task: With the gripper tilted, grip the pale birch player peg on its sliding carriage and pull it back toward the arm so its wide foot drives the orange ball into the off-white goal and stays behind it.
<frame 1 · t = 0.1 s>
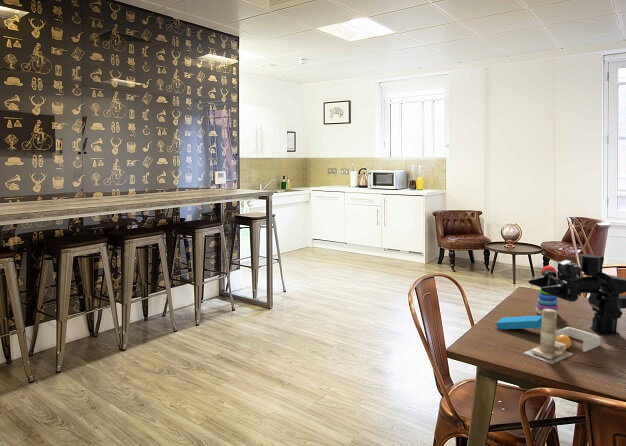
hand: (534, 285, 165), 17 cm above the table, tool horizontal, fingers open, 9 cm apart
grey rectangular plate: (546, 354, 148), on the table
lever: (526, 333, 168), on the table
ball: (563, 341, 153), point 2 cm above the table
kicker: (550, 331, 148), point 7 cm above the table, slide at 0.0 cm
goal: (575, 343, 157), on the table
stacking toy: (546, 313, 186), on the table
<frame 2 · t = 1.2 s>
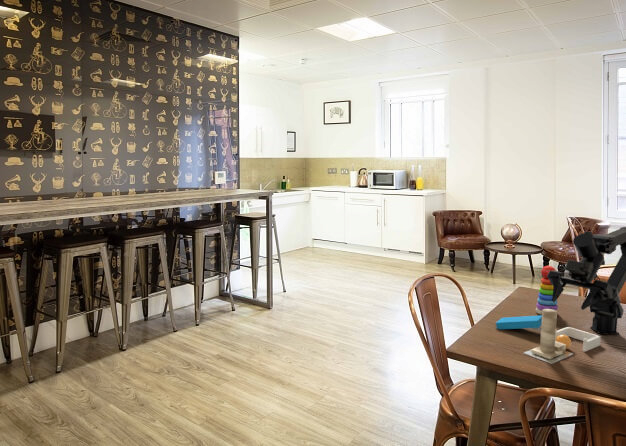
hand: (567, 305, 151), 14 cm above the table, tool tilted 45°, fingers open, 9 cm apart
nothing on the table moved.
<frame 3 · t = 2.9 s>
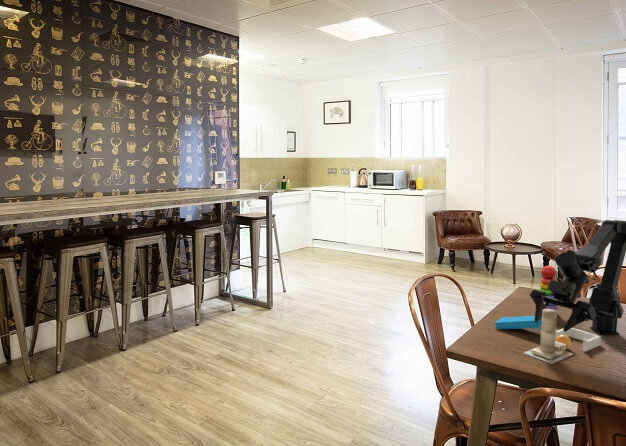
hand: (549, 326, 147), 9 cm above the table, tool tilted 45°, fingers open, 9 cm apart
nothing on the table moved.
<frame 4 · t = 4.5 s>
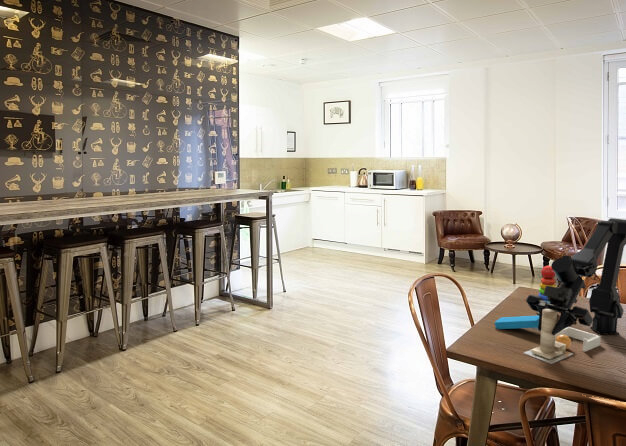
hand: (545, 332, 146), 8 cm above the table, tool tilted 45°, fingers closed on kicker, 4 cm apart
kicker: (550, 331, 148), point 7 cm above the table, slide at 0.0 cm, touching gripper
everything else where it was.
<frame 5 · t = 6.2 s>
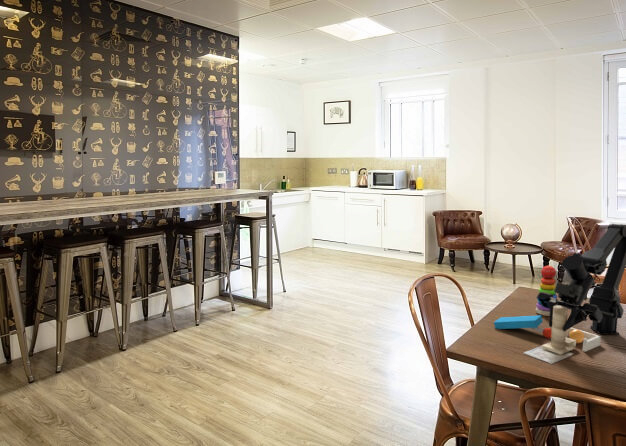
hand: (556, 328, 150), 8 cm above the table, tool tilted 45°, fingers closed on kicker, 4 cm apart
ball: (576, 336, 157), point 2 cm above the table, tilted 154°
kicker: (561, 327, 151), point 7 cm above the table, slide at 5.9 cm, touching gripper
everything else where it was.
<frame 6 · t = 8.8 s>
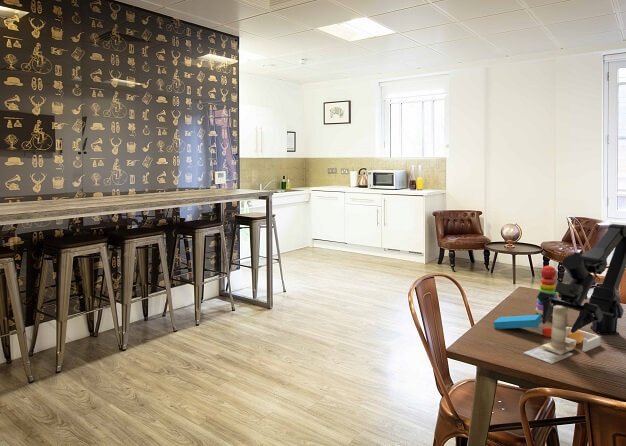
hand: (557, 327, 150), 8 cm above the table, tool tilted 45°, fingers open, 9 cm apart
ball: (576, 336, 157), point 2 cm above the table, tilted 161°
kicker: (561, 327, 151), point 7 cm above the table, slide at 6.0 cm
everything else where it was.
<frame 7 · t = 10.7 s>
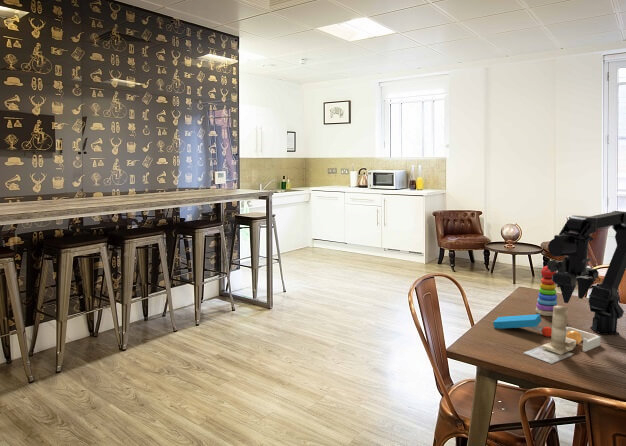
hand: (573, 300, 160), 13 cm above the table, tool pointing down, fingers open, 9 cm apart
ball: (574, 337, 156), point 2 cm above the table, tilted 164°
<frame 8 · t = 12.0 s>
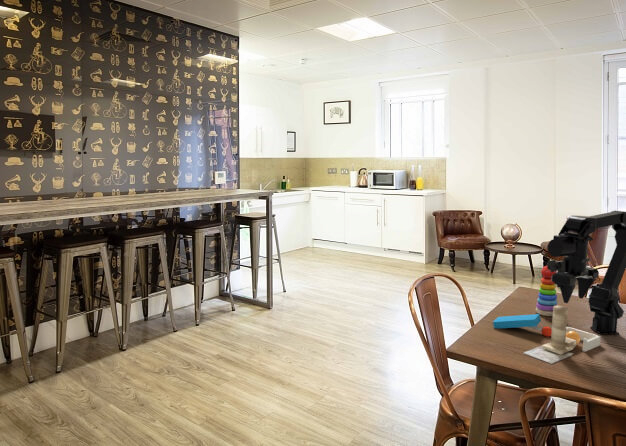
hand: (573, 300, 160), 13 cm above the table, tool pointing down, fingers open, 9 cm apart
ball: (572, 338, 156), point 2 cm above the table, tilted 140°
at the end: ball 2.3 cm from the goal (horizontally); ball point 2.2 cm above the table; kicker slide at 6.0 cm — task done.
